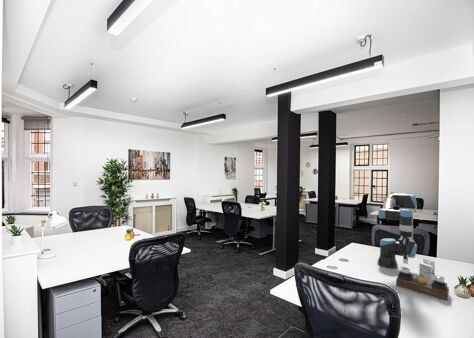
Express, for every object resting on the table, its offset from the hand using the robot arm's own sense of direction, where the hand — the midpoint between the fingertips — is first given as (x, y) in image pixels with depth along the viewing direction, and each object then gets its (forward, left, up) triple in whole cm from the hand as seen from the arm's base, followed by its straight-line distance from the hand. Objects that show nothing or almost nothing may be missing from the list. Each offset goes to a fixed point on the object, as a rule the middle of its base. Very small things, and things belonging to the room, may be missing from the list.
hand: (405, 263), depth 176 cm
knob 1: (0, 0, -8) cm, 8 cm away
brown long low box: (0, +9, -16) cm, 19 cm away
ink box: (-25, +9, -16) cm, 32 cm away
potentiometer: (0, +9, -11) cm, 15 cm away
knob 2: (0, +19, -8) cm, 20 cm away
